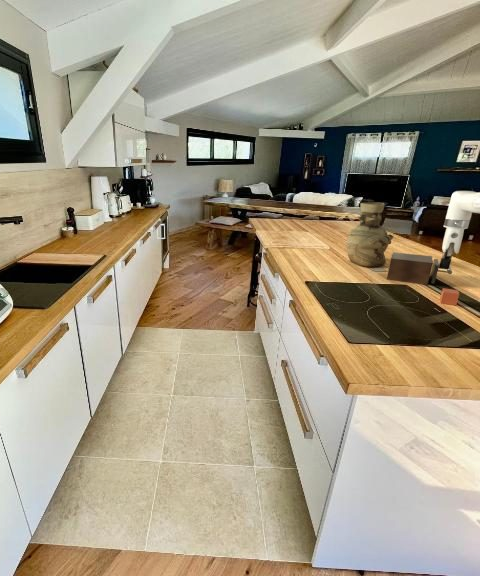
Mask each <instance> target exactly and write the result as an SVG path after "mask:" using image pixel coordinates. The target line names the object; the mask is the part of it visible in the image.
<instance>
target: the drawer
mask: <svg viewBox="0 0 480 576" xmlns="http://www.w3.org/2000/svg"><path fill="white" fill-rule="evenodd" d="M439 265H440V262H439V259H438V258H433V265H432V269H431V273H430V277H429V281H430V284H432V285H433V284H435V283H436V279H437V277H438V276H437V275H438V273H444V274H448V275H452V274H453V271H452V267H449V269H446V270H444V269H443V268H439Z"/></svg>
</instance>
